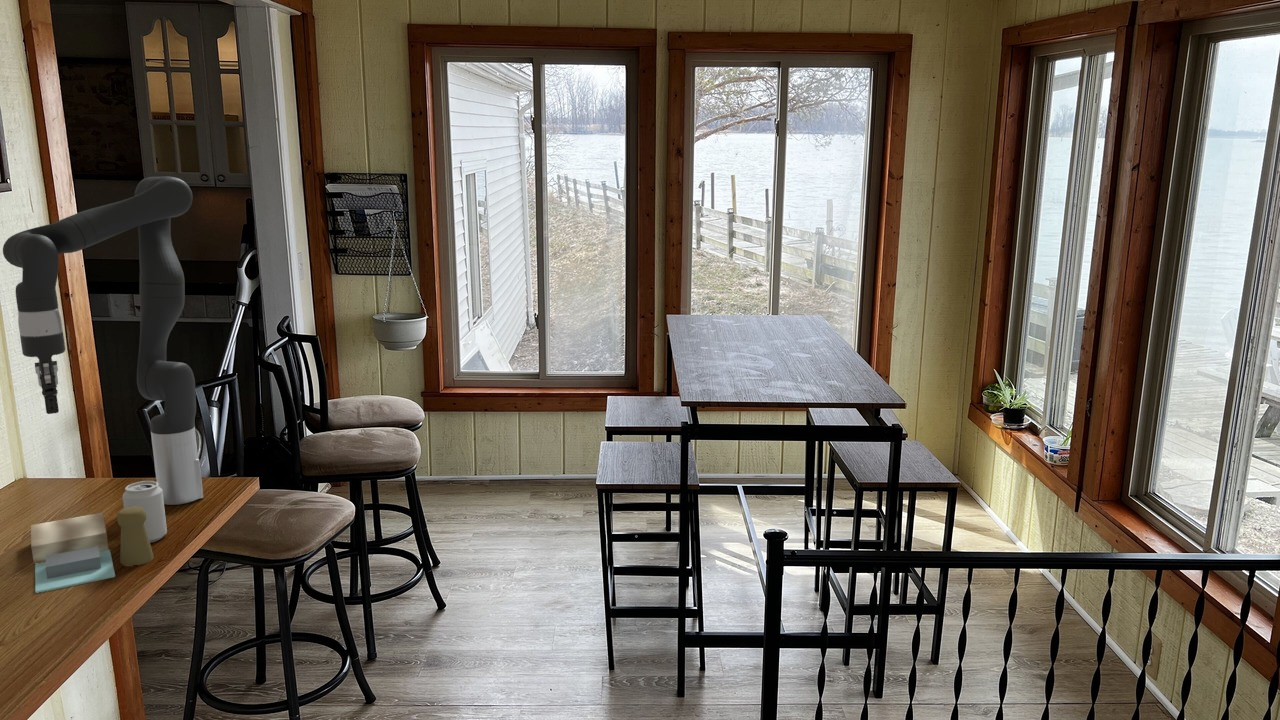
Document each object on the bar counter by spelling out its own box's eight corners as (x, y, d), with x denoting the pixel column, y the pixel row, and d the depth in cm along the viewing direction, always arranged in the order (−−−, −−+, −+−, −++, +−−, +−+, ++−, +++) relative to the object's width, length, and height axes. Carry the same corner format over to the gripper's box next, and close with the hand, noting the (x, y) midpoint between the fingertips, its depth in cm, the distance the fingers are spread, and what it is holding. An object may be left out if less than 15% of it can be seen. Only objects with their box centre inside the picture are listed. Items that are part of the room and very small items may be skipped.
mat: (110, 551, 191) (109, 549, 191) (115, 576, 180) (115, 575, 180) (35, 566, 184) (35, 564, 184) (35, 593, 173) (35, 591, 173)
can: (175, 533, 200) (169, 481, 198) (147, 547, 193) (140, 493, 191) (148, 529, 203) (142, 477, 200) (119, 542, 196) (112, 488, 193)
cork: (139, 567, 184) (133, 515, 182) (112, 564, 185) (106, 513, 183) (160, 555, 190) (154, 504, 187) (134, 552, 191) (128, 502, 189)
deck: (104, 529, 202) (102, 512, 201) (108, 550, 192) (106, 532, 191) (33, 542, 195) (31, 525, 195) (34, 565, 185) (31, 546, 184)
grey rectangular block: (99, 556, 182) (101, 568, 183) (98, 546, 187) (99, 557, 188) (45, 567, 178) (47, 578, 178) (45, 556, 183) (47, 567, 183)
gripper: (63, 334, 188) (74, 417, 191) (61, 324, 198) (72, 403, 202) (19, 338, 184) (31, 422, 187) (19, 328, 194) (31, 408, 198)
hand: (52, 412), depth 195 cm, fingers closed
